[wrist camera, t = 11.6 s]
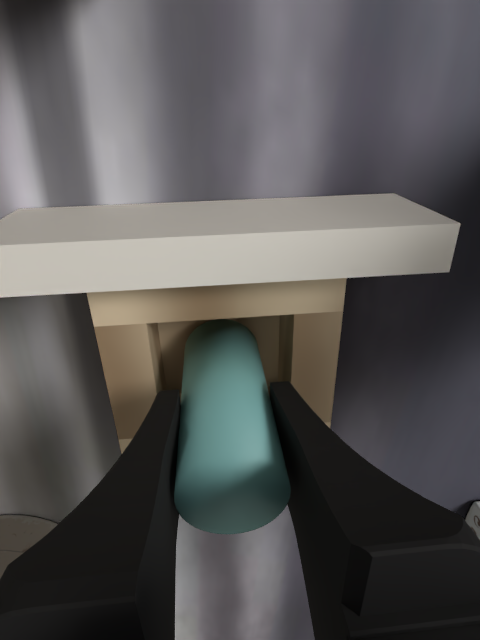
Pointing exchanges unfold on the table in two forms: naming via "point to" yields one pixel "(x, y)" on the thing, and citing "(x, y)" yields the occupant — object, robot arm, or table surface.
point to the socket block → (206, 305)
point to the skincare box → (474, 518)
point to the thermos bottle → (20, 536)
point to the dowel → (227, 434)
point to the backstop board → (219, 243)
